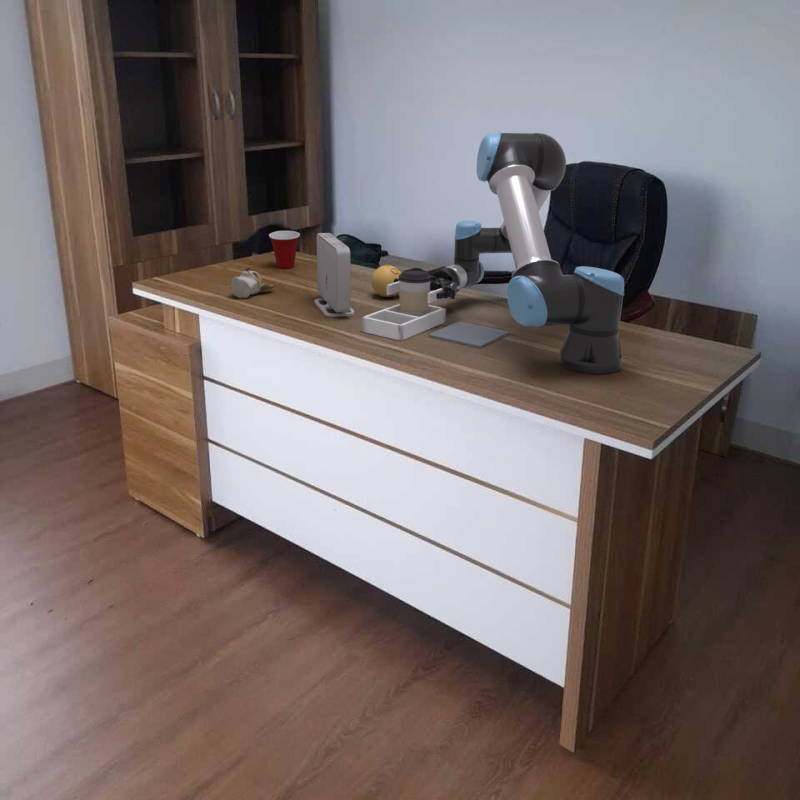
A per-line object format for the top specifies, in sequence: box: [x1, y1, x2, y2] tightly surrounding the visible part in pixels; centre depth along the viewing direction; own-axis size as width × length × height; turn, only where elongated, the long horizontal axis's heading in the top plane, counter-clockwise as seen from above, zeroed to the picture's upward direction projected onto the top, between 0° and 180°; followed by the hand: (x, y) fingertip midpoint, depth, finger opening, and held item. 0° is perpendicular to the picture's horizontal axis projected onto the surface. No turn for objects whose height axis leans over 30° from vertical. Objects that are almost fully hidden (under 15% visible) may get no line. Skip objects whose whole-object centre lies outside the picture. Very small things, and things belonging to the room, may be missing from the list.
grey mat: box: [427, 320, 511, 349], centre depth 220 cm, size 16×16×1 cm
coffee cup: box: [398, 267, 431, 317], centre depth 227 cm, size 9×9×15 cm
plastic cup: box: [268, 230, 301, 270], centre depth 289 cm, size 11×11×12 cm
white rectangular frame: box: [361, 303, 447, 341], centre depth 225 cm, size 13×22×4 cm, turn 145°
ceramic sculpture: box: [229, 267, 276, 299], centre depth 254 cm, size 11×9×15 cm
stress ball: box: [371, 264, 402, 298], centre depth 254 cm, size 10×10×10 cm
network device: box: [314, 232, 355, 318], centre depth 239 cm, size 26×9×20 cm, turn 18°
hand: (407, 294), depth 224 cm, fingers open, 13 cm apart
